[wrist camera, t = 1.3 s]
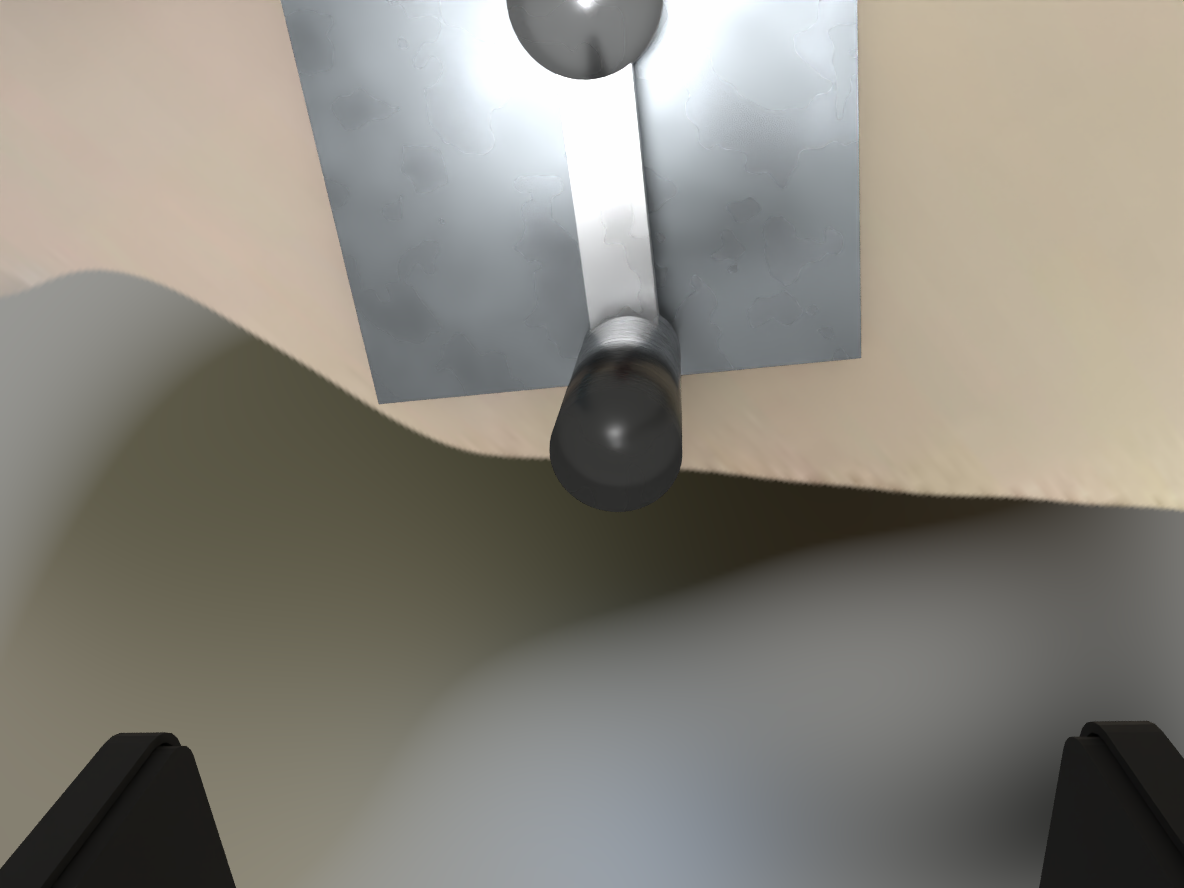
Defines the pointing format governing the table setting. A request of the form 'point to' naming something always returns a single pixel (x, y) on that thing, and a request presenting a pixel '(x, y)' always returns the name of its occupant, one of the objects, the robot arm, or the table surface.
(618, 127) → the lever
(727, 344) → the base
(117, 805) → the robot arm
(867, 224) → the table surface
